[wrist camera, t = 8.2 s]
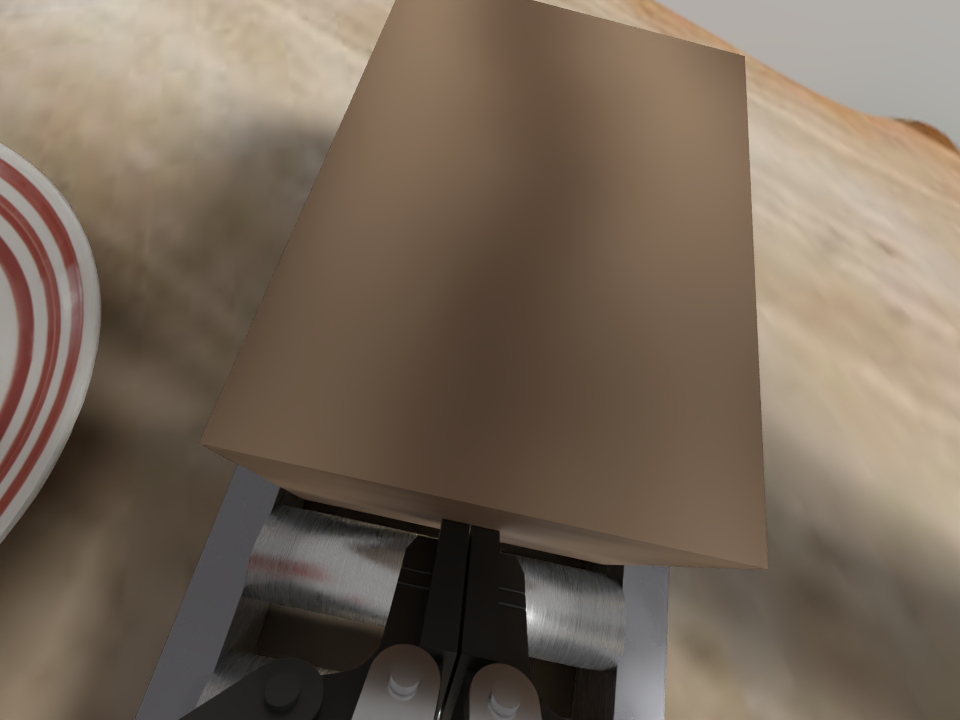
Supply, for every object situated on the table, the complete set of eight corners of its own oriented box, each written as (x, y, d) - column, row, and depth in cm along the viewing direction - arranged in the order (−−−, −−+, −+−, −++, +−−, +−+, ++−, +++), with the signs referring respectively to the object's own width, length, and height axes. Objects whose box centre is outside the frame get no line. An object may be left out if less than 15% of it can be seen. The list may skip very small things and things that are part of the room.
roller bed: (643, 259, 27) (746, 126, 18) (589, 1059, 15) (816, 1711, 6) (376, 194, 26) (359, 26, 18) (89, 970, 14) (-376, 1559, 6)
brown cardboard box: (631, 229, 21) (744, 56, 14) (603, 564, 16) (768, 569, 8) (411, 175, 21) (410, -33, 14) (302, 498, 15) (199, 443, 8)
